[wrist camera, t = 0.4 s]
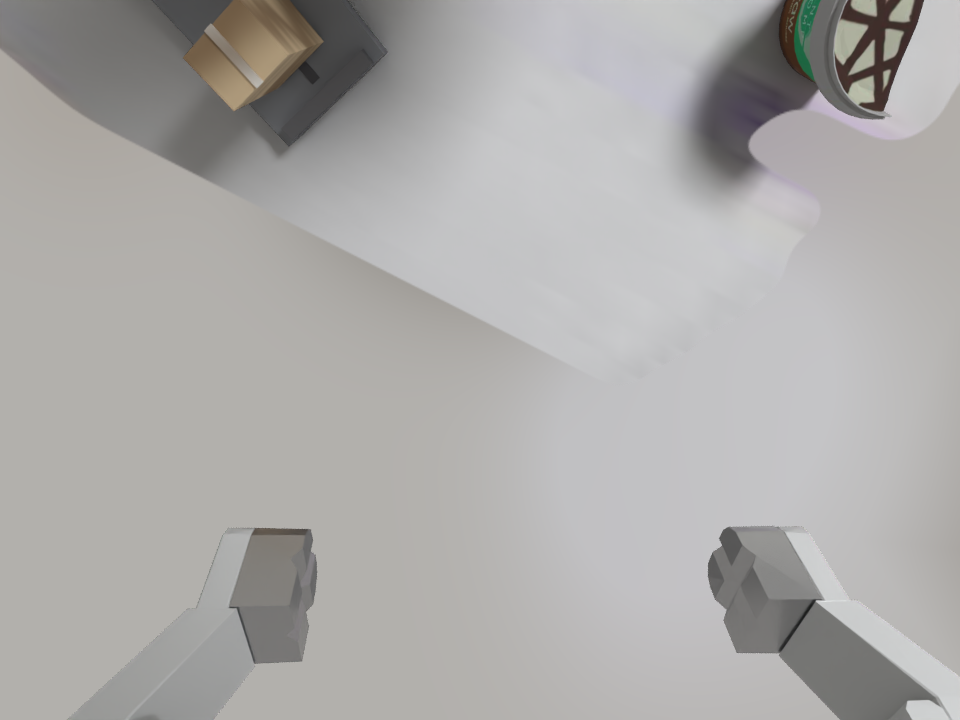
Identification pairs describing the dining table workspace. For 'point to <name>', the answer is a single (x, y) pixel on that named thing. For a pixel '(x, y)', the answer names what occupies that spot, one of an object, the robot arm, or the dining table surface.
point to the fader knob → (252, 49)
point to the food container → (849, 48)
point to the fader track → (321, 75)
